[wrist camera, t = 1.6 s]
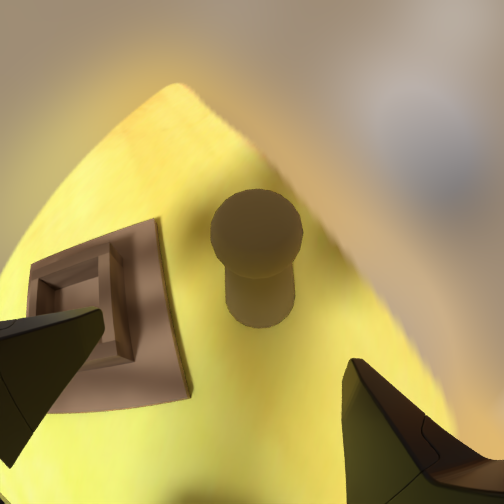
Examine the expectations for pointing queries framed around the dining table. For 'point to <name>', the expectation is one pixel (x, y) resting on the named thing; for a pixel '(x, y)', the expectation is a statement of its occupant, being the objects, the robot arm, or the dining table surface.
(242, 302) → the cork
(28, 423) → the robot arm
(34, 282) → the holder board
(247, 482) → the dining table surface
